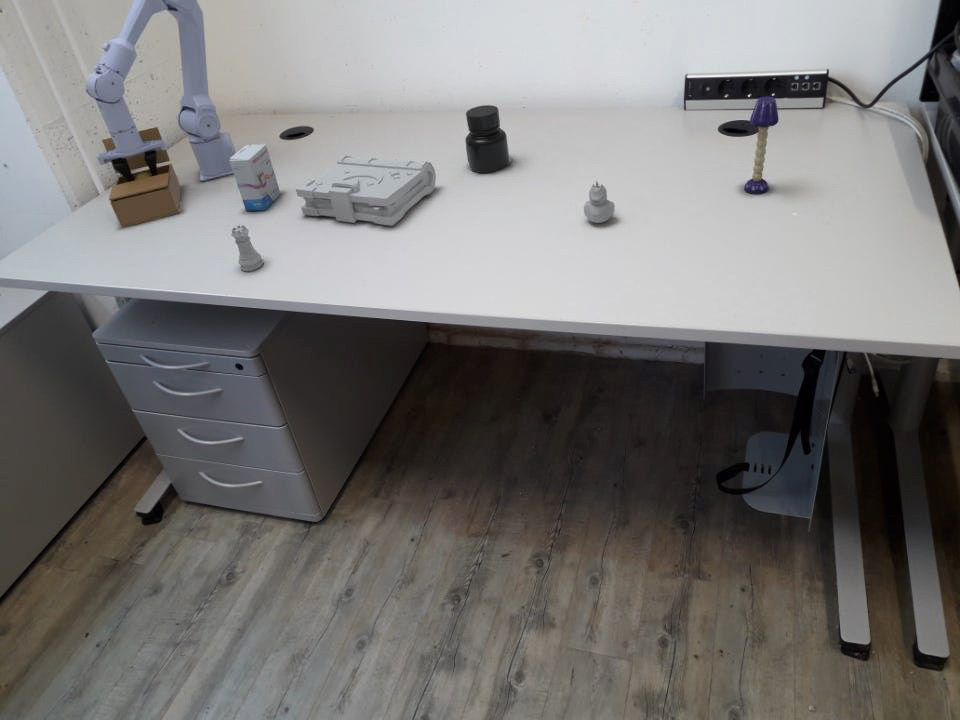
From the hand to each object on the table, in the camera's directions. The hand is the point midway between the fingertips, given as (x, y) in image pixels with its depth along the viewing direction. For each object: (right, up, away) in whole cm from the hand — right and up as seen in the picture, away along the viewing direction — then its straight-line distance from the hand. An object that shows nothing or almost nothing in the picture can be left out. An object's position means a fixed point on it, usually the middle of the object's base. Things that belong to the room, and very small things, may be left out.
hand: (147, 186), depth 174 cm
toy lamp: (+128, -9, -36) cm, 133 cm away
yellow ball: (0, +1, -1) cm, 1 cm away
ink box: (+29, -6, -8) cm, 31 cm away
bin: (+2, -5, -1) cm, 5 cm away
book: (+52, -7, -15) cm, 55 cm away
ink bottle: (+79, +2, -9) cm, 79 cm away
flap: (-2, +8, 0) cm, 8 cm away
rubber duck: (+99, -15, -36) cm, 106 cm away
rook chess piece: (+34, -23, -31) cm, 51 cm away
